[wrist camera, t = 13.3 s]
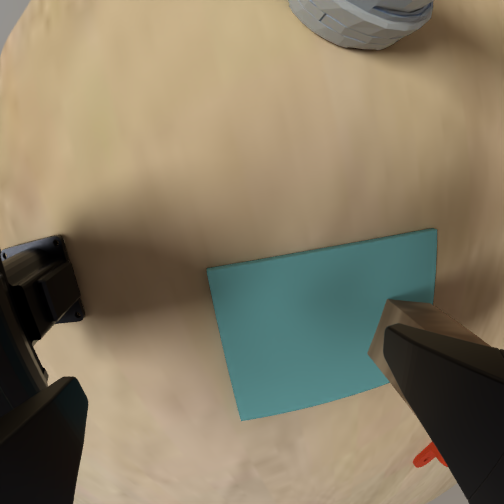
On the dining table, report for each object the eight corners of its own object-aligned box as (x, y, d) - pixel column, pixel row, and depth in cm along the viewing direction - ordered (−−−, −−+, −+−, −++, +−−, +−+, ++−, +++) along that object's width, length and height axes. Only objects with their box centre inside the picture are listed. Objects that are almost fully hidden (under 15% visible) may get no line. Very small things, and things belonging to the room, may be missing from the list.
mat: (240, 416, 24) (241, 421, 23) (206, 268, 20) (206, 271, 20) (419, 366, 25) (422, 369, 25) (432, 228, 22) (437, 229, 21)
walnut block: (367, 353, 23) (452, 464, 11) (386, 298, 22) (501, 395, 9) (410, 353, 24) (496, 443, 11) (430, 303, 23) (536, 381, 10)
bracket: (419, 463, 32) (433, 484, 28) (408, 461, 31) (422, 484, 27) (472, 409, 31) (490, 428, 26) (464, 405, 30) (483, 425, 25)
